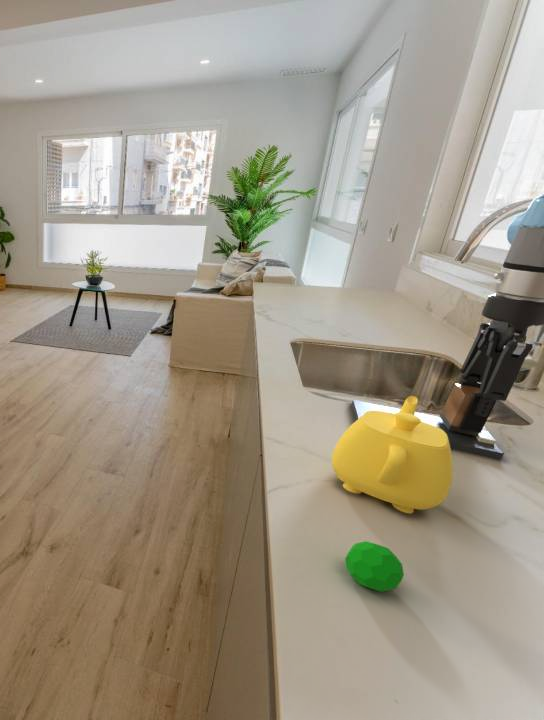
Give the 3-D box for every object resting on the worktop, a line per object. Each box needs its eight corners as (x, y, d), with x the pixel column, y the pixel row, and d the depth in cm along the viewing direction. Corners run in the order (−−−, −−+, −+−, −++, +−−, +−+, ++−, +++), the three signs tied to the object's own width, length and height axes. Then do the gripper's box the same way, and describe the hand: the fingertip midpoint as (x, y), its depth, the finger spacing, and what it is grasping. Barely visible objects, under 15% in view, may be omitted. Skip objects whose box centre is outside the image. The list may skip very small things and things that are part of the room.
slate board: (477, 432, 80) (480, 425, 79) (500, 461, 71) (504, 453, 70) (350, 405, 89) (352, 399, 88) (356, 428, 80) (359, 421, 79)
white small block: (486, 434, 76) (487, 430, 76) (494, 444, 73) (496, 440, 73) (471, 431, 77) (473, 427, 77) (478, 441, 74) (480, 437, 74)
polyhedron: (333, 560, 50) (345, 529, 49) (378, 567, 50) (393, 536, 48) (353, 596, 46) (367, 563, 44) (404, 605, 45) (420, 572, 43)
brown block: (466, 422, 79) (483, 388, 77) (477, 436, 75) (496, 401, 72) (439, 416, 81) (454, 383, 79) (448, 429, 76) (465, 395, 74)
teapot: (439, 476, 67) (472, 406, 62) (436, 547, 53) (478, 464, 48) (339, 443, 75) (361, 379, 70) (313, 497, 61) (339, 422, 56)
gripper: (472, 284, 78) (424, 397, 87) (515, 305, 62) (452, 439, 71) (528, 289, 74) (473, 406, 83) (588, 313, 59) (512, 453, 68)
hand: (463, 421), depth 77 cm, fingers closed on brown block, 6 cm apart
